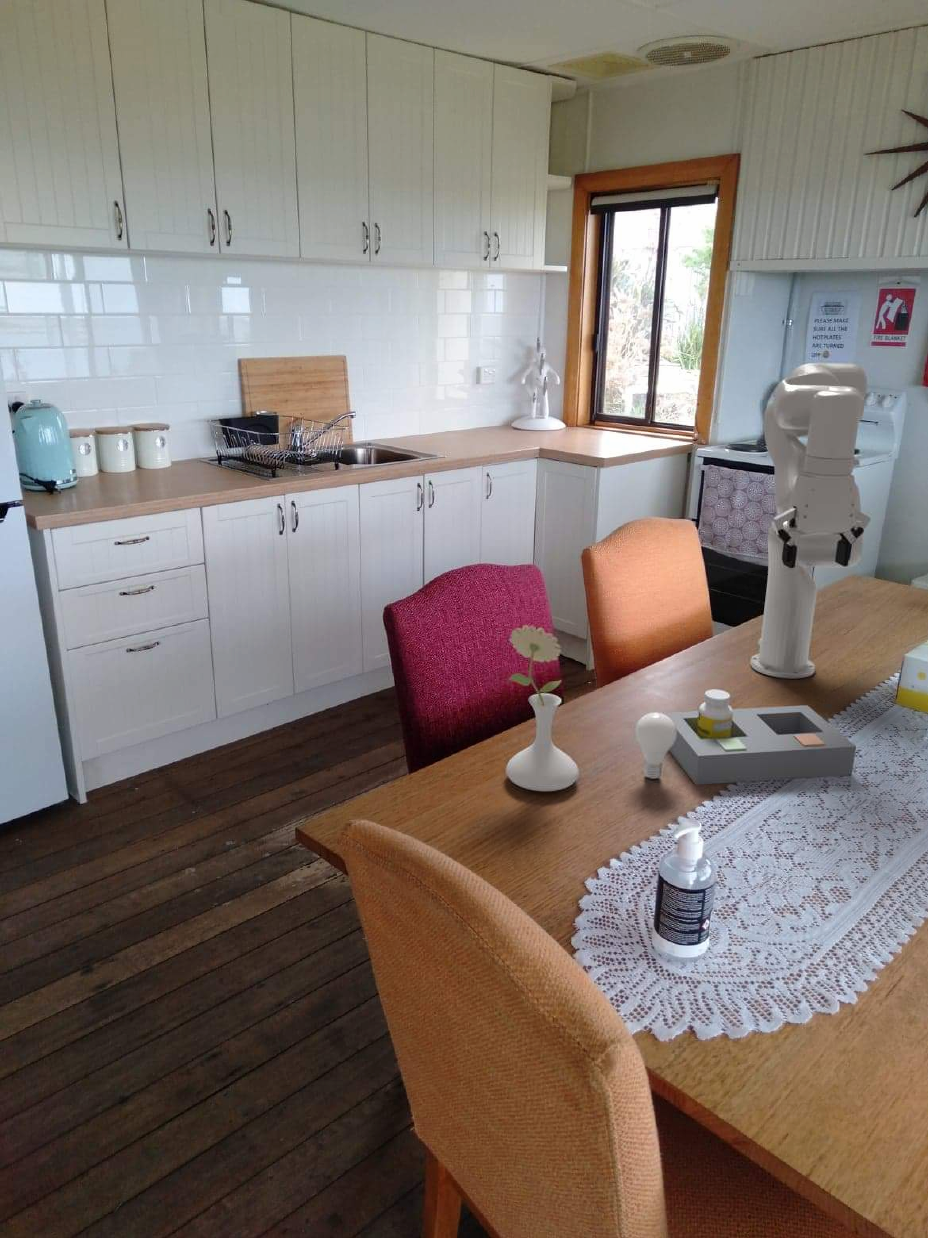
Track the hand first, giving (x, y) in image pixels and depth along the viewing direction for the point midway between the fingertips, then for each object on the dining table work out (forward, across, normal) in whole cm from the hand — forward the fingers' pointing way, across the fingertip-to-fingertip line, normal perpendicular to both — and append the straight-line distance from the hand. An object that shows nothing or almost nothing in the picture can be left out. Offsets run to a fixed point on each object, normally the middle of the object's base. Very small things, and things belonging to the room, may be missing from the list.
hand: (814, 565), depth 160 cm
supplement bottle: (+27, +22, +14) cm, 37 cm away
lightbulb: (+28, +34, +20) cm, 49 cm away
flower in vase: (+28, +52, +18) cm, 62 cm away
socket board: (+28, +15, +15) cm, 35 cm away
